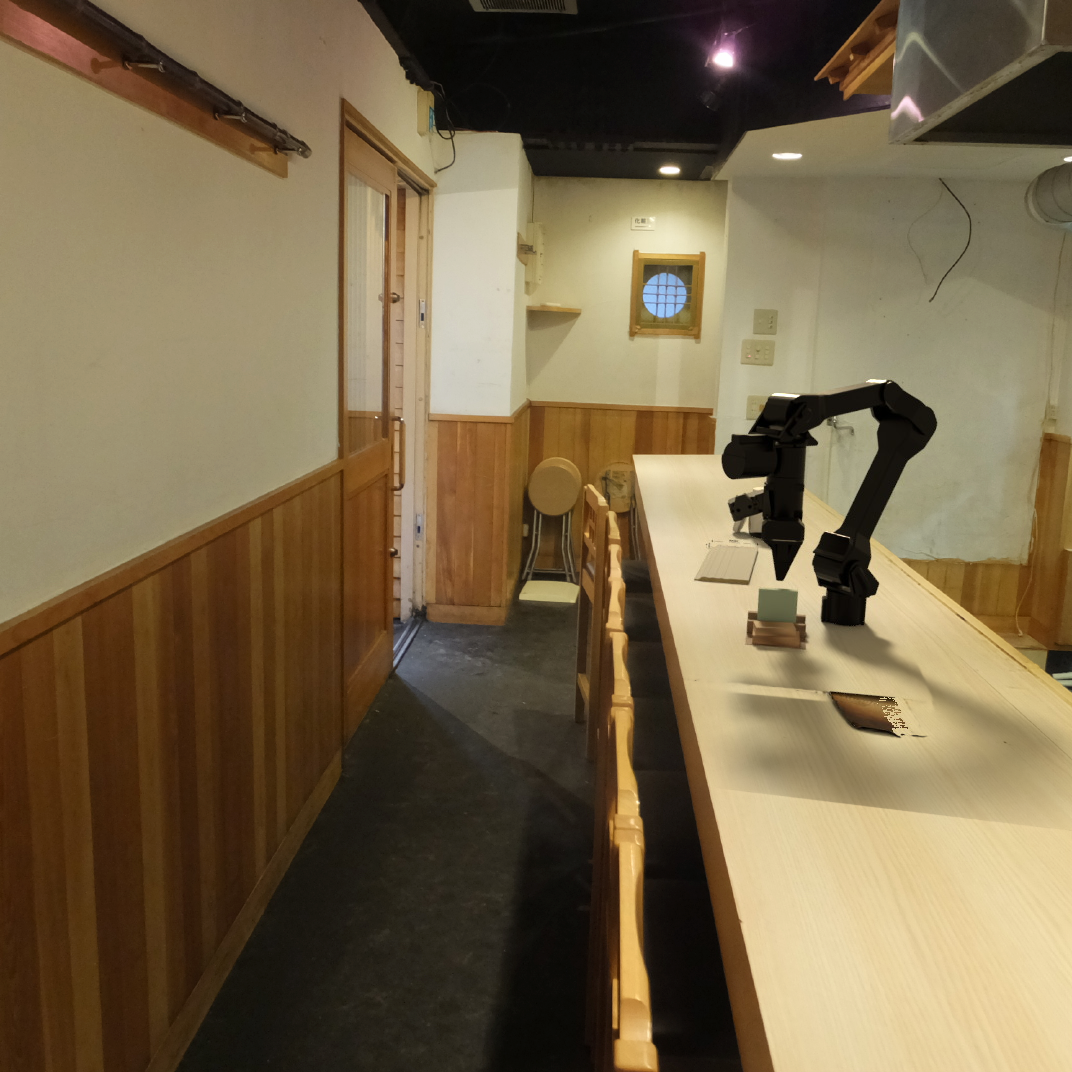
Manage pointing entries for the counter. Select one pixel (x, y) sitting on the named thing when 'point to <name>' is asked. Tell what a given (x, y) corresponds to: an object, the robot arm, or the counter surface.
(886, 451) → the robot arm
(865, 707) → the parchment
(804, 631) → the rack
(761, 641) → the offcut lower
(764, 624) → the offcut upper
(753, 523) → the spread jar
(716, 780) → the counter surface
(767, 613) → the block
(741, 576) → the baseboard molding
